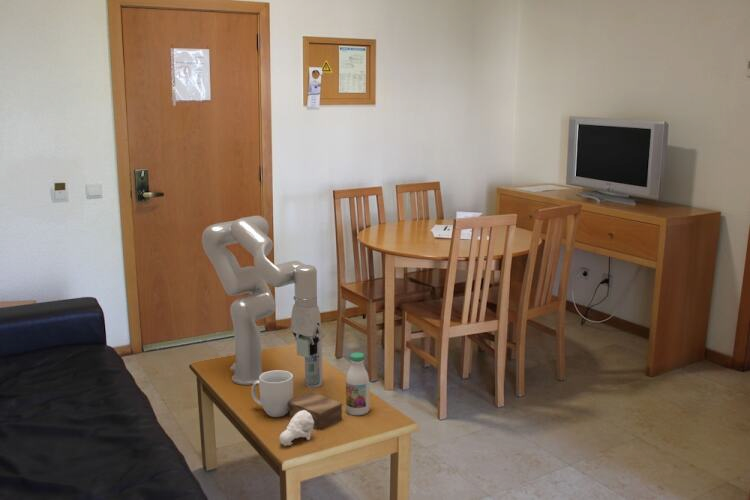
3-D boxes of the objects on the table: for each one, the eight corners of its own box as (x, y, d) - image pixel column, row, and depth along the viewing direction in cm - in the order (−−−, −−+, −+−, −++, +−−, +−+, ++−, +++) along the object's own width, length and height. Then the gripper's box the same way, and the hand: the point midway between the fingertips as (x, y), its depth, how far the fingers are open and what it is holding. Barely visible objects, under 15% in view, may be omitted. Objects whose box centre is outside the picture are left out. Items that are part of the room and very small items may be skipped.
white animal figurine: (315, 411, 222) (286, 428, 214) (317, 435, 225) (289, 453, 216) (300, 405, 226) (272, 421, 218) (303, 429, 229) (275, 446, 220)
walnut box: (288, 418, 238) (288, 401, 236) (311, 408, 245) (311, 391, 244) (320, 431, 229) (319, 413, 227) (342, 420, 236) (342, 403, 235)
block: (296, 354, 248) (296, 338, 247) (306, 350, 252) (306, 334, 251) (308, 357, 245) (307, 340, 244) (317, 353, 249) (317, 336, 248)
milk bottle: (353, 404, 247) (352, 349, 243) (373, 408, 244) (372, 352, 240) (342, 413, 241) (341, 356, 237) (362, 417, 237) (362, 360, 233)
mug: (244, 415, 240) (242, 378, 237) (261, 402, 250) (259, 366, 247) (284, 422, 234) (282, 384, 232) (299, 409, 244) (298, 372, 242)
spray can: (302, 386, 263) (300, 334, 259) (308, 380, 269) (307, 328, 265) (319, 388, 261) (318, 335, 257) (325, 381, 267) (324, 330, 263)
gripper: (279, 300, 247) (281, 350, 251) (318, 308, 237) (319, 361, 241) (294, 295, 253) (296, 344, 256) (332, 303, 243) (333, 354, 247)
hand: (307, 352), depth 249 cm, fingers closed on block, 5 cm apart
